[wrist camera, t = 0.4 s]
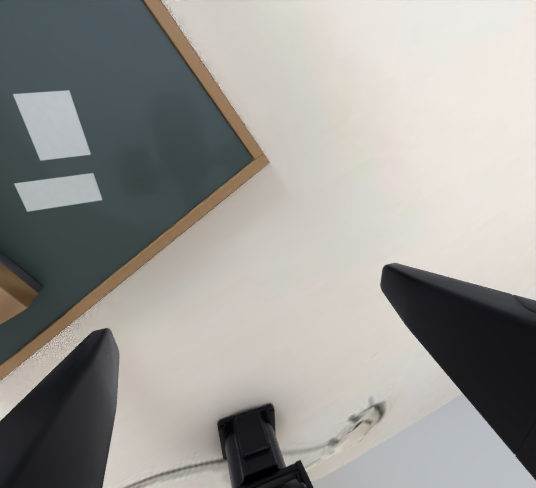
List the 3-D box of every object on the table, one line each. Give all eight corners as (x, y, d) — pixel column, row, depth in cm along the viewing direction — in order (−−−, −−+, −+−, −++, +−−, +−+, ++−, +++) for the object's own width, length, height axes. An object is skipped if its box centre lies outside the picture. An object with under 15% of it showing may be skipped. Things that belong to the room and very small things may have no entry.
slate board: (-13, 386, 22) (-21, 397, 21) (-403, 220, 14) (-442, 227, 13) (265, 160, 22) (269, 162, 21) (54, -152, 13) (46, -171, 13)
